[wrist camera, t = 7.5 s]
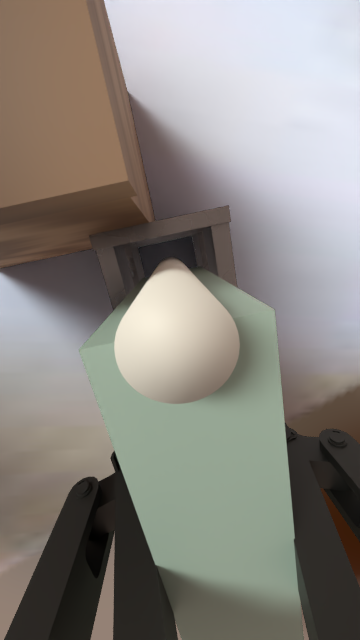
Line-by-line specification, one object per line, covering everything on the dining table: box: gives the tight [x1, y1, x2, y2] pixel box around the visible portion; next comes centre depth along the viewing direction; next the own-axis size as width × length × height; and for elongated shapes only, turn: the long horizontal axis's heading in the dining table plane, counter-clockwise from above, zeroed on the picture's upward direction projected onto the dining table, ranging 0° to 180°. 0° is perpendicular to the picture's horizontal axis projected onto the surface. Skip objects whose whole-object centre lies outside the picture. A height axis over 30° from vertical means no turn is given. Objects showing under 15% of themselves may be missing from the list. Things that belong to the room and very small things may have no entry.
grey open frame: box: [89, 205, 237, 311], centre depth 19 cm, size 8×6×12 cm
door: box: [79, 257, 304, 640], centre depth 12 cm, size 5×17×13 cm, turn 11°
